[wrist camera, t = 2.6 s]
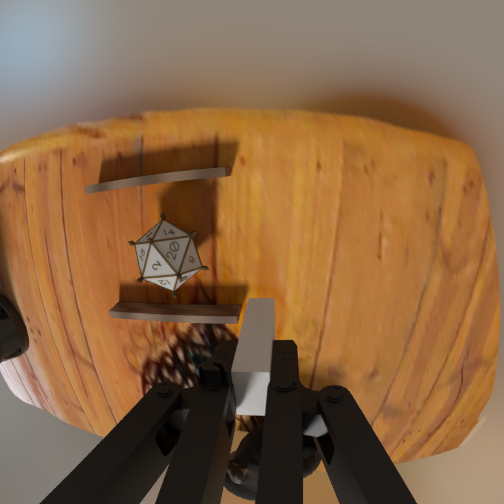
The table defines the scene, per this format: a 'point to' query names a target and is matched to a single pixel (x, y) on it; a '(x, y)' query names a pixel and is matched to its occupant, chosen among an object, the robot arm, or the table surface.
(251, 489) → the black rounded lump
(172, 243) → the game die
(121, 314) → the walnut channel
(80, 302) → the table surface
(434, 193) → the table surface
